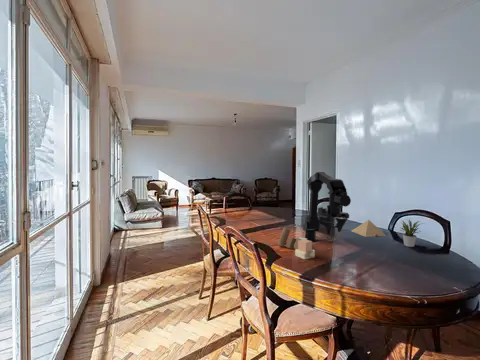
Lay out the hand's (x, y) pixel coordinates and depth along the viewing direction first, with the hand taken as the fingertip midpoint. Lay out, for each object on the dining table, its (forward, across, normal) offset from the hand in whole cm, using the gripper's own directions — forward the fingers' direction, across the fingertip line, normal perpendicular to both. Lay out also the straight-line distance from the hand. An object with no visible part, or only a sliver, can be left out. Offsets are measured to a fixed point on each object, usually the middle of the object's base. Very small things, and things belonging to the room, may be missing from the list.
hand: (333, 233), depth 149 cm
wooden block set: (+12, +8, -25) cm, 29 cm away
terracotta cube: (+9, +13, -8) cm, 18 cm away
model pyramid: (+13, -62, -14) cm, 65 cm away
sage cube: (+12, +2, -20) cm, 23 cm away
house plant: (+12, -54, +17) cm, 58 cm away
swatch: (+12, +4, -14) cm, 19 cm away
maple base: (+12, +13, -8) cm, 20 cm away
